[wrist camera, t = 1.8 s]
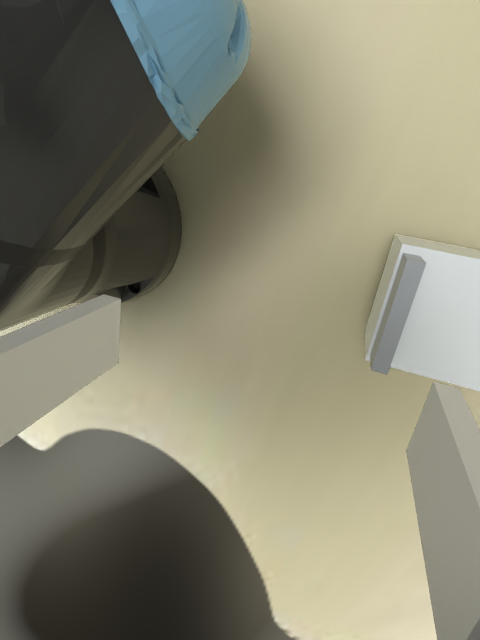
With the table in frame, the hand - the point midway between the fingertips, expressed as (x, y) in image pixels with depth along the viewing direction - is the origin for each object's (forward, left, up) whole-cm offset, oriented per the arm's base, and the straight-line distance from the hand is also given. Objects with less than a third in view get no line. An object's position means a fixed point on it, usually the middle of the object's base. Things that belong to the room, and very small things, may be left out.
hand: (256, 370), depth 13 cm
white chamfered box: (+10, 0, -20) cm, 22 cm away
